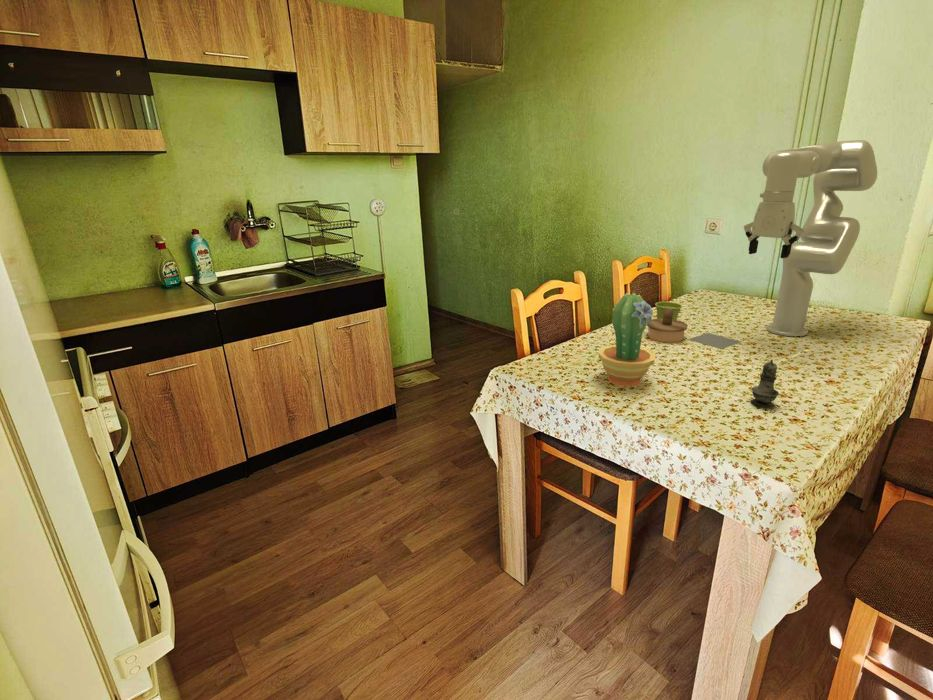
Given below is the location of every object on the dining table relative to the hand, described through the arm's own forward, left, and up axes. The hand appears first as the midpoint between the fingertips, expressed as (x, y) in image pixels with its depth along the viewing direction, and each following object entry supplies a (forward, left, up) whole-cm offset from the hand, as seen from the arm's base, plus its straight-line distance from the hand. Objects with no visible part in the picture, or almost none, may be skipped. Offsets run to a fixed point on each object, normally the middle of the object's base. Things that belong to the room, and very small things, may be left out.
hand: (768, 255), depth 149 cm
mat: (+5, -10, -30) cm, 32 cm away
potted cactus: (+54, -7, -31) cm, 62 cm away
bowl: (+15, -22, -30) cm, 40 cm away
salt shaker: (+38, +23, -31) cm, 54 cm away
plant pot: (+2, -31, -31) cm, 43 cm away
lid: (+15, -22, -25) cm, 36 cm away
